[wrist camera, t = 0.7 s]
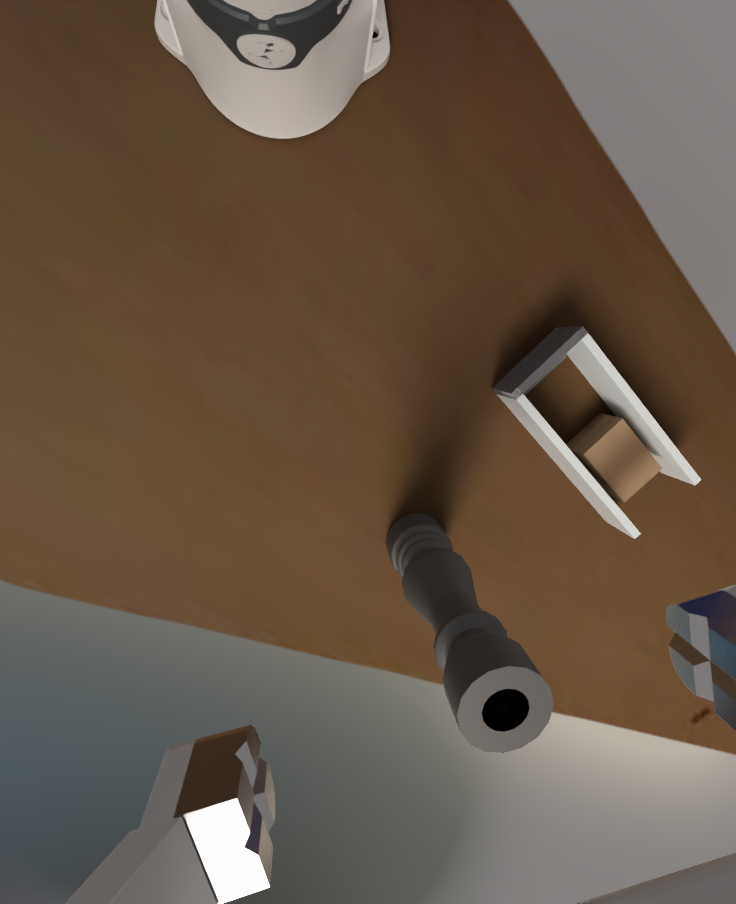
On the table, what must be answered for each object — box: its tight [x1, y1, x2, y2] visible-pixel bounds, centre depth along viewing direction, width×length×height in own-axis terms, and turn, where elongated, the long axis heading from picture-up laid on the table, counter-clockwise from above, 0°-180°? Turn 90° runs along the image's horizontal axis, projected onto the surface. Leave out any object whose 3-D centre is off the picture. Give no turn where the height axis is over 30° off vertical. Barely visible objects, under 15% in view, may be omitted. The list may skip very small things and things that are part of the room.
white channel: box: [492, 326, 701, 539], centre depth 50 cm, size 20×9×5 cm, turn 43°
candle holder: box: [386, 513, 553, 753], centre depth 41 cm, size 6×6×25 cm
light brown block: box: [566, 413, 662, 503], centre depth 52 cm, size 7×5×4 cm
